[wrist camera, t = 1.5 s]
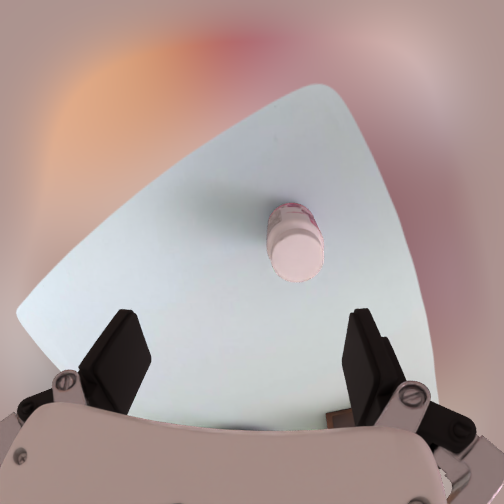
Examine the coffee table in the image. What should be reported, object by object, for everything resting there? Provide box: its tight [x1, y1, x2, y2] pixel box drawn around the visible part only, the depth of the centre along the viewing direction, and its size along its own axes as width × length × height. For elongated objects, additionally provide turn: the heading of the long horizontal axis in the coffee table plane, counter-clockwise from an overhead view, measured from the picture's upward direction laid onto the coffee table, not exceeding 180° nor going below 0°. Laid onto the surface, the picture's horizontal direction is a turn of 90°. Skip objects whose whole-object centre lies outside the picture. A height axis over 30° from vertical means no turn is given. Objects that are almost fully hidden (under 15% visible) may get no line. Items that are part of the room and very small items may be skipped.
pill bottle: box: [267, 203, 324, 282], centre depth 25 cm, size 5×5×8 cm
